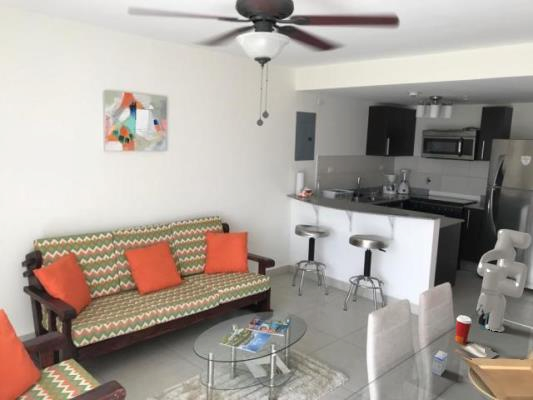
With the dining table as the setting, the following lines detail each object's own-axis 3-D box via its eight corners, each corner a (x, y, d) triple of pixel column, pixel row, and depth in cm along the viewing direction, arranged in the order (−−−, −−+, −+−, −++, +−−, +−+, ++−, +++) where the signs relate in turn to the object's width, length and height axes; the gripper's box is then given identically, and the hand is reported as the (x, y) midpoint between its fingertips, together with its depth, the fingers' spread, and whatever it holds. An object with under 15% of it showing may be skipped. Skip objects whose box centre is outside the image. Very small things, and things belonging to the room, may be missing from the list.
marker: (480, 326, 234) (484, 305, 232) (486, 329, 232) (490, 307, 230) (478, 327, 232) (482, 306, 230) (483, 330, 230) (487, 308, 228)
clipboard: (472, 343, 240) (473, 340, 240) (498, 355, 229) (498, 352, 229) (454, 351, 230) (455, 348, 229) (480, 364, 219) (481, 361, 218)
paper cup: (465, 339, 245) (469, 315, 242) (470, 345, 237) (474, 322, 234) (451, 337, 245) (455, 314, 243) (455, 344, 238) (459, 320, 235)
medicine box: (436, 366, 214) (439, 350, 213) (445, 369, 211) (448, 353, 210) (431, 372, 208) (433, 356, 206) (440, 376, 205) (443, 359, 204)
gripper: (489, 286, 236) (483, 318, 239) (474, 291, 227) (468, 324, 230) (503, 291, 230) (497, 323, 234) (488, 296, 221) (482, 330, 224)
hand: (483, 323), depth 232 cm, fingers closed on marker, 2 cm apart
